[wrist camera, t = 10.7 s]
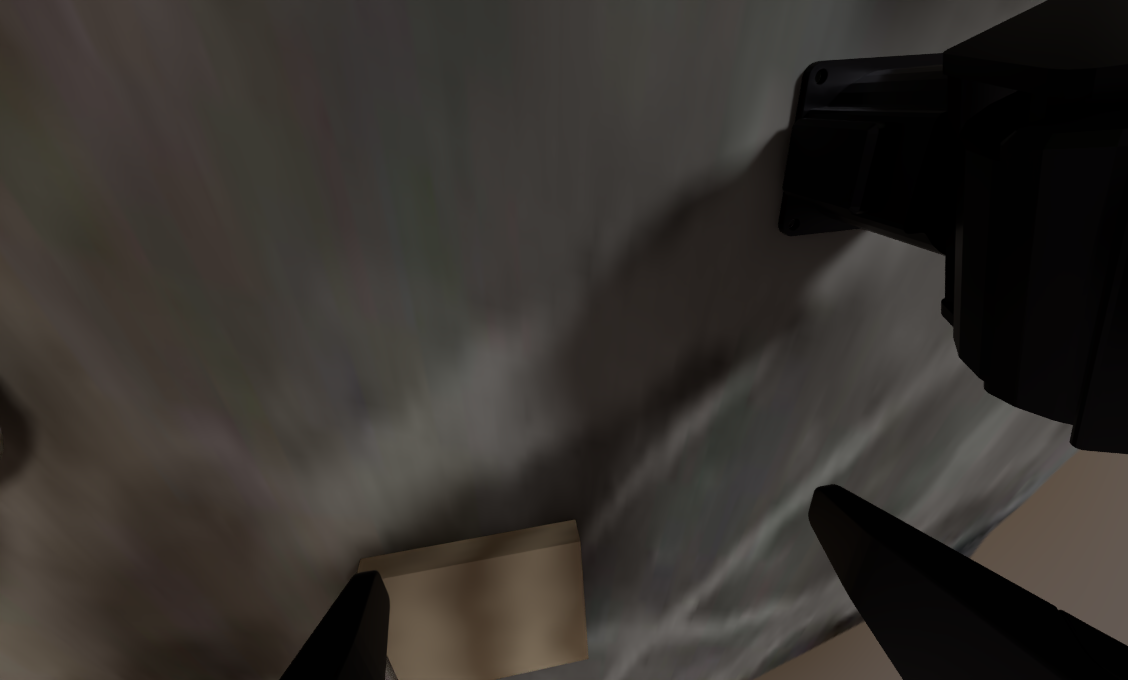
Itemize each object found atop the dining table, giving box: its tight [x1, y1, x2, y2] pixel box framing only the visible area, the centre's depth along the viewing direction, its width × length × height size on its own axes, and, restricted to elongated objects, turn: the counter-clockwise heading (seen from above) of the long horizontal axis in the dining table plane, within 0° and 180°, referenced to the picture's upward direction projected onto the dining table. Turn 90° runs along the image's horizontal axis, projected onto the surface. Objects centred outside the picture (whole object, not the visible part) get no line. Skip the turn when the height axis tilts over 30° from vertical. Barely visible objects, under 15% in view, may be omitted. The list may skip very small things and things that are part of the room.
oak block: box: [357, 520, 588, 680], centre depth 28 cm, size 12×12×2 cm
